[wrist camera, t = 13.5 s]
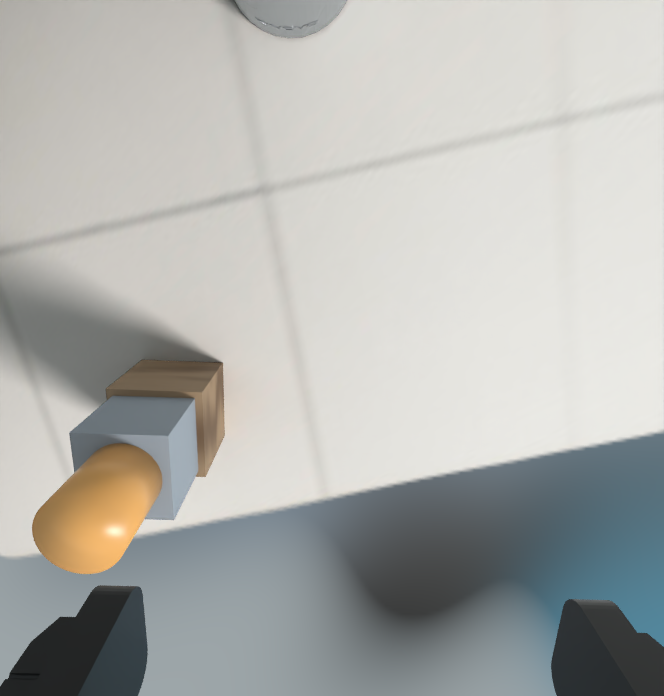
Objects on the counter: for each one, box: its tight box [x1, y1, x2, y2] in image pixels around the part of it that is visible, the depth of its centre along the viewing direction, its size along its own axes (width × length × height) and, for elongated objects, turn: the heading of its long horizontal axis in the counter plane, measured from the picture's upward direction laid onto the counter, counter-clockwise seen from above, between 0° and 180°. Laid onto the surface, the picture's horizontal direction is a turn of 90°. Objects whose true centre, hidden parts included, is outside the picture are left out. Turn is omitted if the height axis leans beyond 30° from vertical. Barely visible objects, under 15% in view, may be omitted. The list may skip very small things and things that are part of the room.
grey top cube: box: [69, 396, 198, 520], centre depth 33 cm, size 6×6×6 cm
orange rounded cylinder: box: [32, 443, 163, 574], centre depth 27 cm, size 5×5×6 cm
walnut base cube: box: [106, 360, 225, 477], centre depth 39 cm, size 7×7×7 cm
